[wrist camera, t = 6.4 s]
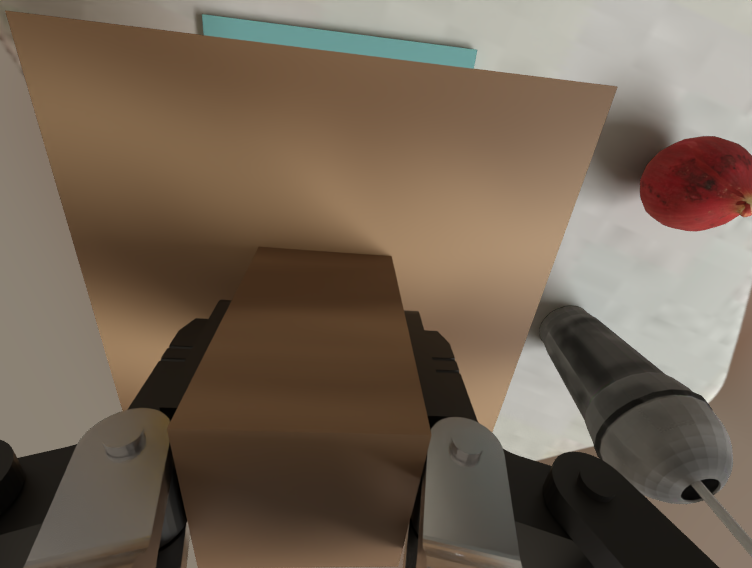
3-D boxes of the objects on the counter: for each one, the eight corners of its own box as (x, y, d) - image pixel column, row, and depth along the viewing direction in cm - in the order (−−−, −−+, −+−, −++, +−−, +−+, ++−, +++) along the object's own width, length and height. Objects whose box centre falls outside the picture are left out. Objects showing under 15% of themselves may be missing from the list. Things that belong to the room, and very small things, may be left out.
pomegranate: (598, 184, 28) (679, 221, 22) (662, 111, 26) (775, 127, 19) (648, 223, 30) (738, 269, 23) (712, 158, 28) (832, 187, 21)
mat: (204, 15, 22) (201, 14, 22) (475, 50, 24) (477, 49, 23) (226, 265, 30) (225, 268, 29) (430, 278, 31) (431, 281, 31)
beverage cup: (544, 370, 37) (717, 638, 20) (510, 322, 34) (679, 588, 17) (616, 331, 35) (877, 587, 18) (587, 276, 32) (867, 521, 15)
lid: (34, 15, 8) (-746, -113, 2) (598, 84, 10) (992, 114, 4) (144, 431, 15) (3, 680, 9) (477, 438, 16) (553, 658, 10)
